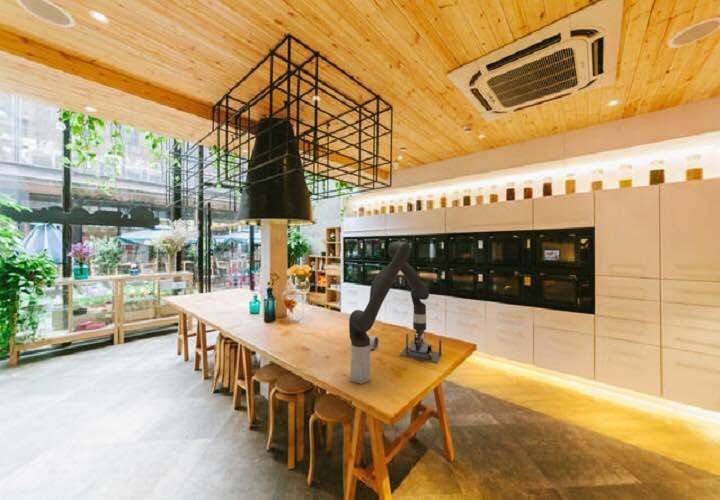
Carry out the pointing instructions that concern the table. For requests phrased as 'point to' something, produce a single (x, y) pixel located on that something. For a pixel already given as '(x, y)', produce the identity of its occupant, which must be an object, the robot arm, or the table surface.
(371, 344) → the ceramic mug
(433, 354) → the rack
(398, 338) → the table surface
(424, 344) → the grey rectangular block
